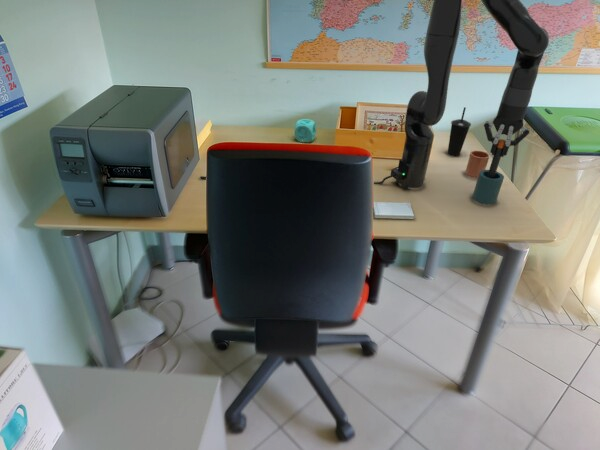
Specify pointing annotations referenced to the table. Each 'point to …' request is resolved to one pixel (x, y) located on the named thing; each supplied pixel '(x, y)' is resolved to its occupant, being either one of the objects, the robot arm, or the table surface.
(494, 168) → the marker
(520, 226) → the table surface
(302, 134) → the decorative dice
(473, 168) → the pen cup
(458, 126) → the drinking cup
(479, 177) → the jar
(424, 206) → the table surface
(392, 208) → the hard drive
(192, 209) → the table surface
